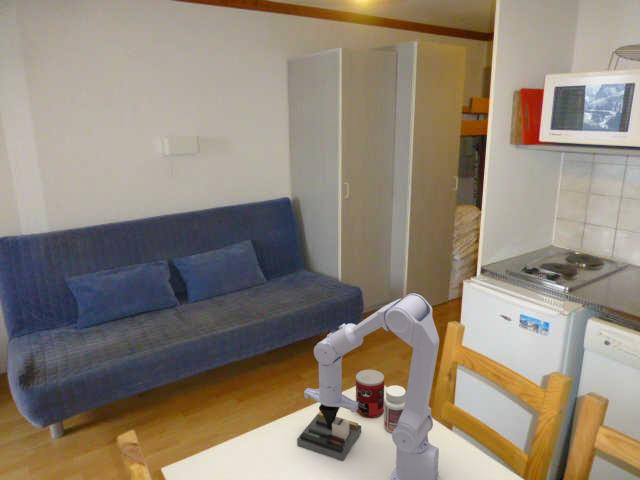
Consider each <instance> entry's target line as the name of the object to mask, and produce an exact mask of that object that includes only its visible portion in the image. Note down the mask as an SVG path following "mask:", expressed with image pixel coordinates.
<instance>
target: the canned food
mask: <svg viewBox="0 0 640 480" xmlns="http://www.w3.org/2000/svg"><path fill="white" fill-rule="evenodd" d="M355 401H356V402H358V409H357V411H356V413H358V414H359V415H360V416H362V417H364V418H369V419H370V418H371V419H372V418H377V417H380V416H381V415H382V414H383V413H384V401H385V375H384V374H383V373H382V372H381V371H378V370H377V369H376V370H375V369H363V370H360V371H359V372H357V373H356V376H355Z"/></svg>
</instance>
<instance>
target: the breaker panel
mask: <svg viewBox="0 0 640 480" xmlns="http://www.w3.org/2000/svg"><path fill="white" fill-rule="evenodd" d="M336 417H337V418H341V417H338V416H336ZM335 419H336V418H335ZM341 419H344V420H347V421H349V435H348V437H347V438H346V440H345V441H344V439H342V438H339V437H336V436H333V435H332V429H331V430H329V429H328V426H327V423H326V420H325V418H324V416H323V414H322V413H321V411H318V412H317V414H316V415H315V416H314V417H313V419H312V420H311V421H310V423H309V424H308V425H307V426H306V427H305V429H303V431H302V432H301V434H300V435H299V436H298V437H297V438H296V445H297V446H298V447H300V448H303V449H306V450H309V451H312V452H315V453H317V454H322V455H323V456H327V457H330V458H333V459H335V460H338V461H341V462H343V461H344V460H345V459H346V457H347V455H348V454H349V453H350V451H351V449H352V448H353V446H354V445H355V443H356V441H357V440H358V438H359V437H360V435H361V433H362V425H360V424H359V423H358V422H355V421H352V420H349V419H346V418H341Z"/></svg>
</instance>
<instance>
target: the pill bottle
mask: <svg viewBox="0 0 640 480" xmlns="http://www.w3.org/2000/svg"><path fill="white" fill-rule="evenodd" d="M385 391H386V392H385V397H384V410H383V413H384V414H383V423H384V424H383V426H384V429H385V430H386V431H388V432H389V433H393V430H394V429H395V428H396V427H397V425H398V421H399V418H400V416H401V414H402V412H403V409H404V405H405V399H406V392H407V390H406V389H405V388H404V387H403V386H401V385H389V386H388V387H387V388H386V389H385Z"/></svg>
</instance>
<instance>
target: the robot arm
mask: <svg viewBox="0 0 640 480" xmlns="http://www.w3.org/2000/svg"><path fill="white" fill-rule="evenodd" d="M434 321H435V320H434V318H433V307H432V306H431V304H430V303H429V302H428V301H427V299H426V298H425V297H424V296H423V295H420V294H417V293H413V292H412V293H409V294H407V295H406V296H404V297H403V298H401V297H400V298H398V299H396V300H394V301H392V302H390V303H388V304H386V305H384V306H382V307H381V308H380V309H378V310H377V311H375V312H374V313H372V314H371V315H369V316H368V317H366V318H365V319H363V320H362V321H361V322H359V323H358V324H355V323H347V324H346V323H343V324H341V325H339V326H338V330H337V331H334V332H330V333H329V334H327V335H326V337H325V338H324V339H322V340H321V341H319V342H317V344H316V345H315V346H314V348H313V355H314V357H315V359H316V361H317V362H318V384H319V386H318V388H310V387H307V388H306V389H305V390H304V393H303V396H304V399H307V400H309V399H312V400H315V401H316V402H318V403H319V404H320V405H319V407H318V410H319V412H321V413H322V414H323V416H324V418H325V420H326V423H327V426H328V429H329V430H331V429H332V423H333V421H334V420H335V418H336V417H337V414H338V412H339V410H340V408H343V409H346V410H350V411H351V412H352V413H354V414H356V413H357V409H358V402H356V400H353V399H351V398H350V397H348V396H347V395H345V394H343V391H342V390H343V389H342V388H343V386H342V385H343V384H342V382H343V381H342V375H343V373H342V361H343V356H344V355H346V354H348V353H350V352H351V351H353V350H355V349H356V348H357V347H360V346H362V344H363V342H364V337H365V336H368V335H370V334H372V333H374V332H375V331H377V330H378V329H380V328H383V330H385V331H386V332H389V331H391V333H393V334H394V335H396V336H397V337H398V338H399V339H401V340H402V341H403V342H404V343H406V344H407V345H408V346H409V347H412V355H411V361H410V368H409V373H408V380H407V381H408V382H407V386H406V399H405V405H404V409H403V412H402V414H401V416H400V418H399V421H398V425H397V427H396V428H395V429H394V430H393V433H392V434H391V438H392V442H393V443H394V445H395V447H396V463H395V465H396V466H395V467H394V470H393V471H392V473H391V476H390V478H389V479H390V480H436V479H437V477H438V473H439V458H440V457H439V456H440V450H439V448H438V447H436V446H434V445H433V444H431V443H430V442H429V436H428V434H429V432H430V431H431V430H432V429H433V427H434V420H433V417H432V408H431V406H430V405H429V404H430V399H431V393H432V387H433V383H434V382H433V381H434V380H433V379H434V377H435V376H434V375H435V371H436V366H437V365H436V364H437V360H438V359H437V358H438V354H439V353H438V352H439V348H440V347H439V346H440V337H439V333H438V331H437V327H436V325H435V322H434Z"/></svg>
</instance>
